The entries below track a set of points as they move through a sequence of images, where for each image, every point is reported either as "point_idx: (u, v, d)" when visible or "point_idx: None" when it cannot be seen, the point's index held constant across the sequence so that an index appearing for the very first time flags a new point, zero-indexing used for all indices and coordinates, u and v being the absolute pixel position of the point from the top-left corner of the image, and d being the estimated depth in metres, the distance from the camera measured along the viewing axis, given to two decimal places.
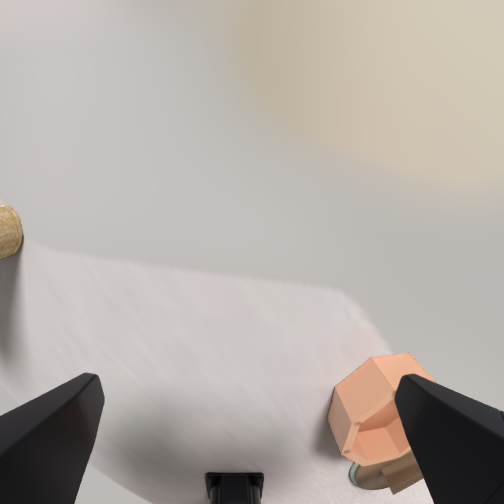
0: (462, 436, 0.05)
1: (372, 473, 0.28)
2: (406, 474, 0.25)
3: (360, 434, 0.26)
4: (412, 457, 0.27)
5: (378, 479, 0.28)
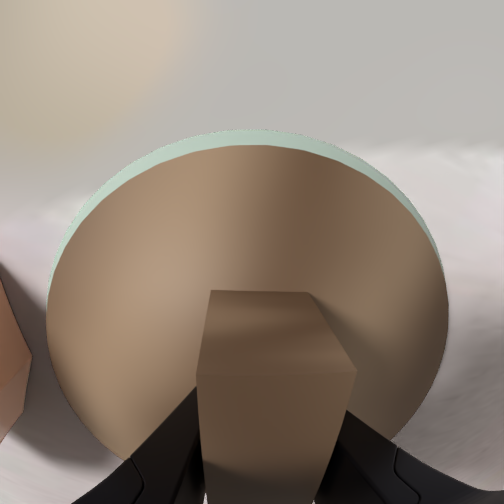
0: (339, 470, 0.05)
1: None
2: None
3: None
4: None
5: None
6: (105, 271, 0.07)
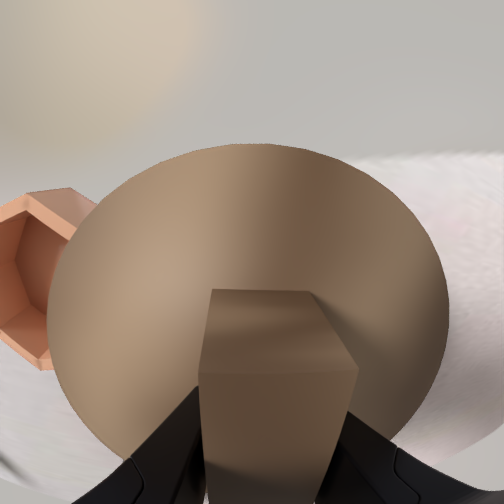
0: (339, 470, 0.05)
1: None
2: None
3: None
4: None
5: None
6: (106, 270, 0.07)
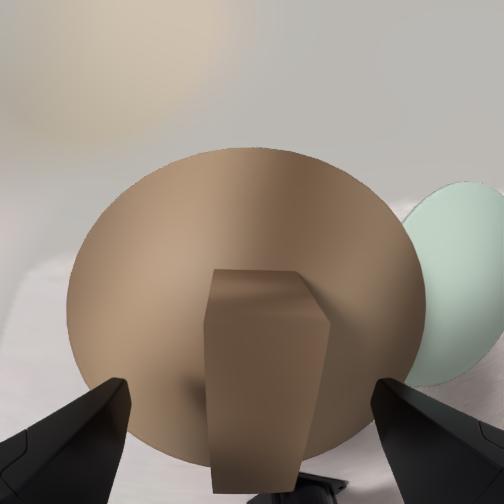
0: (435, 446, 0.05)
1: None
2: None
3: None
4: None
5: None
6: (123, 254, 0.09)
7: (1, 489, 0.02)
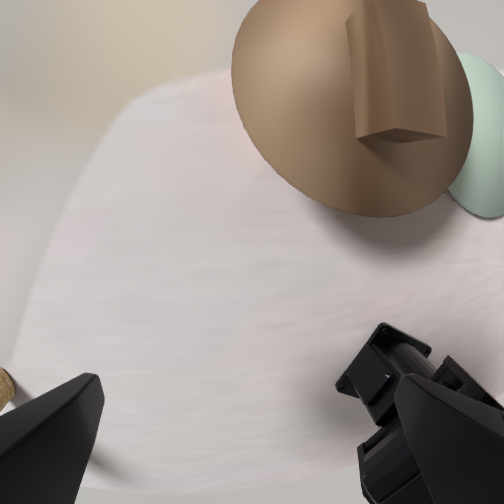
0: (462, 436, 0.05)
1: (353, 163, 0.12)
2: (378, 69, 0.09)
3: None
4: (355, 50, 0.11)
5: (405, 162, 0.13)
6: (287, 9, 0.10)
7: None
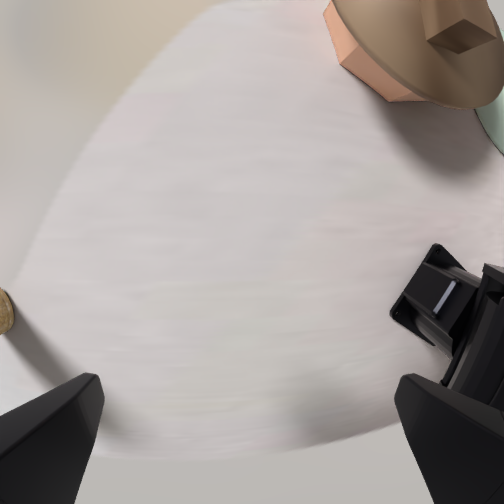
0: (462, 436, 0.05)
1: (426, 56, 0.11)
2: None
3: None
4: None
5: (463, 68, 0.11)
6: None
7: None
